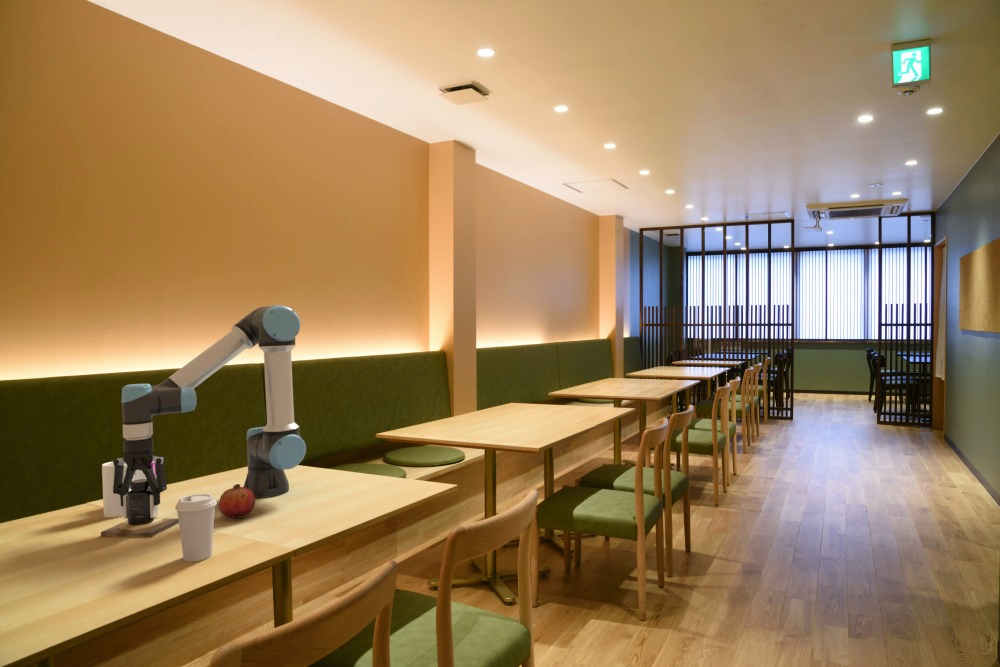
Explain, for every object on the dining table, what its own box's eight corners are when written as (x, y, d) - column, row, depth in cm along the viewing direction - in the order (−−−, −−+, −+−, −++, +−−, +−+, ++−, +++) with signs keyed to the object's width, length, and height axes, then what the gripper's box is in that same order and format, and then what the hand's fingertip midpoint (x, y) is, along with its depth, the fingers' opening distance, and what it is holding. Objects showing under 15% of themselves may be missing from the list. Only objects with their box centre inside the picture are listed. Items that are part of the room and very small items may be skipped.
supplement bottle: (160, 520, 187) (158, 479, 187) (137, 526, 181) (136, 484, 181) (144, 517, 190) (143, 477, 190) (122, 524, 184) (121, 482, 184)
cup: (139, 511, 204) (138, 461, 204) (114, 518, 197) (113, 466, 197) (122, 508, 208) (121, 459, 208) (97, 515, 200) (96, 464, 200)
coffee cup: (185, 551, 166) (184, 493, 166) (223, 549, 167) (222, 492, 167) (170, 565, 157) (168, 504, 156) (210, 562, 157) (208, 502, 157)
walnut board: (179, 522, 191) (178, 515, 191) (151, 536, 178) (150, 529, 178) (132, 522, 193) (131, 515, 193) (100, 536, 180) (100, 529, 180)
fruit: (261, 516, 195) (260, 484, 195) (229, 524, 188) (228, 490, 188) (245, 510, 203) (244, 478, 202) (213, 518, 195) (212, 485, 195)
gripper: (178, 434, 189) (181, 511, 190) (111, 436, 189) (114, 514, 189) (166, 439, 182) (169, 519, 182) (95, 441, 181) (98, 521, 182)
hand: (141, 516), depth 186 cm, fingers closed on supplement bottle, 7 cm apart
